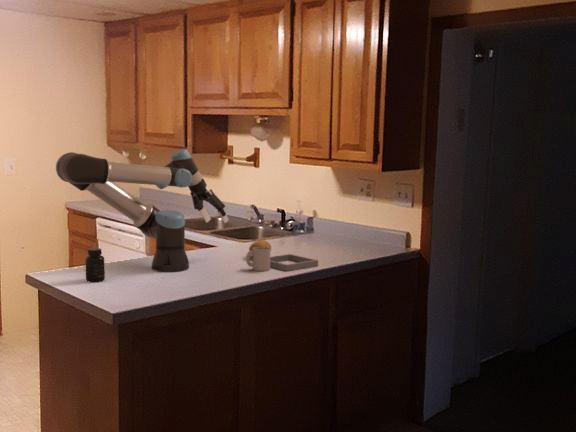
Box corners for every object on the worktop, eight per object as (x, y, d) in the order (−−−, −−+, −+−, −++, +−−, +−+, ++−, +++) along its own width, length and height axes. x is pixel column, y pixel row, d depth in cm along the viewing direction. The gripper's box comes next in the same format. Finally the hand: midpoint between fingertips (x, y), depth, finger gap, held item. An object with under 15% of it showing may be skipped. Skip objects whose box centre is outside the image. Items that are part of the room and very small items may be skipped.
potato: (273, 255, 301) (273, 238, 300) (268, 261, 288) (269, 243, 287) (252, 254, 302) (252, 237, 301) (247, 260, 289) (247, 242, 288)
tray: (286, 271, 267) (286, 265, 267) (258, 264, 280) (258, 258, 280) (318, 265, 279) (318, 260, 279) (289, 259, 292) (289, 253, 292)
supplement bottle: (82, 280, 245) (81, 248, 244) (99, 277, 250) (98, 246, 249) (91, 283, 240) (90, 251, 239) (108, 280, 245) (107, 249, 244)
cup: (270, 271, 266) (270, 250, 265) (245, 271, 266) (245, 249, 265) (270, 267, 274) (270, 246, 272) (246, 267, 273) (246, 246, 272)
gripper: (218, 176, 279) (240, 217, 288) (185, 177, 297) (206, 216, 306) (206, 186, 275) (228, 227, 283) (173, 187, 293) (195, 225, 302)
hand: (217, 221), depth 295 cm, fingers open, 13 cm apart
